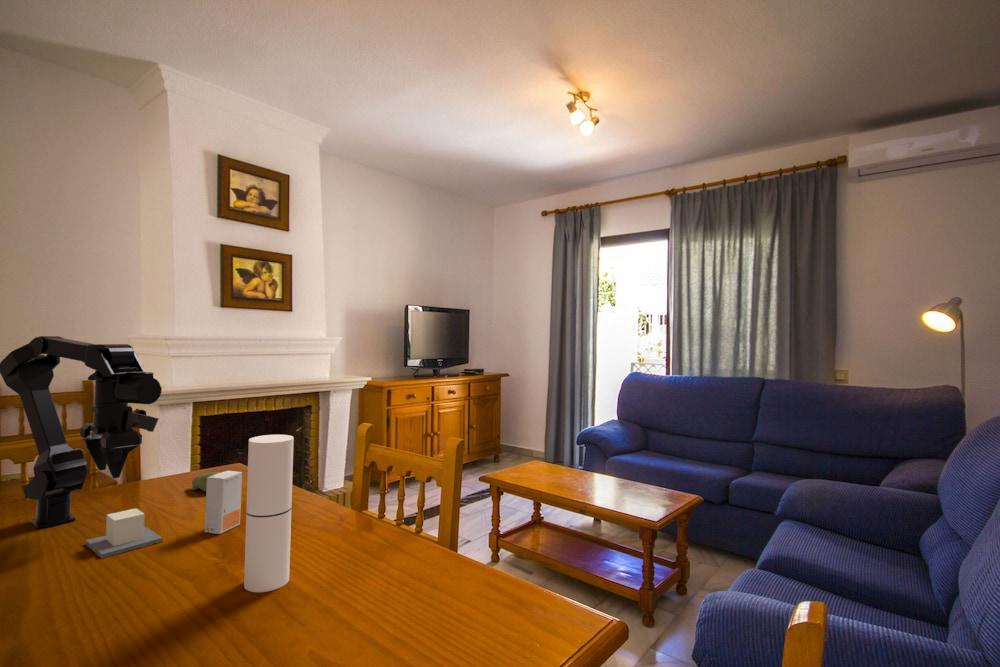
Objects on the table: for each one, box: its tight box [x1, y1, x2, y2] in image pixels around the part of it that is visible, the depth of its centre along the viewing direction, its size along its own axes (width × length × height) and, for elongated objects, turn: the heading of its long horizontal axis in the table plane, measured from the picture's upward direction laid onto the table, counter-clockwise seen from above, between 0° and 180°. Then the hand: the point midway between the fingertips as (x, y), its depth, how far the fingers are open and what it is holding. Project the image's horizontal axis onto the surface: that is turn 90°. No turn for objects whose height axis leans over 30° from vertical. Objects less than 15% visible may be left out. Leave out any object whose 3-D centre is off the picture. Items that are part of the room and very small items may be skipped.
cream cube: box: [105, 507, 145, 546], centre depth 100 cm, size 5×5×5 cm
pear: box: [191, 471, 219, 493], centre depth 134 cm, size 6×5×10 cm
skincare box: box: [204, 470, 243, 535], centre depth 109 cm, size 6×4×12 cm
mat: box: [85, 525, 163, 559], centre depth 100 cm, size 10×10×1 cm
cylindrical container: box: [243, 434, 295, 593], centre depth 86 cm, size 7×7×25 cm
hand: (108, 473), depth 106 cm, fingers open, 9 cm apart
